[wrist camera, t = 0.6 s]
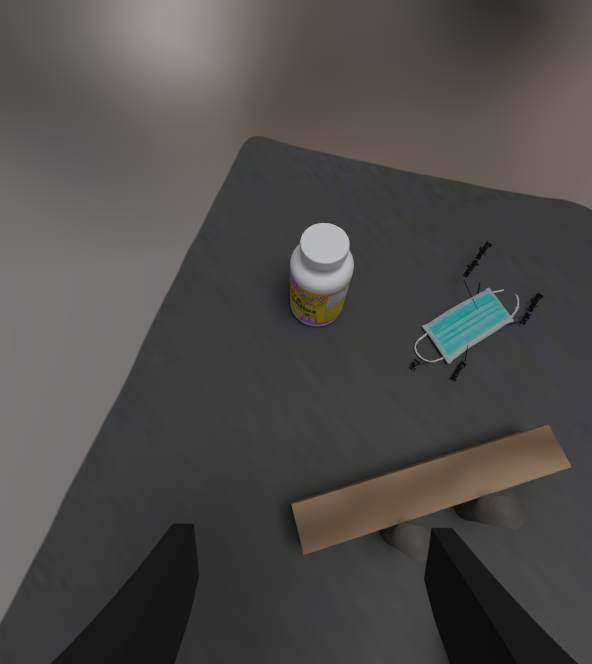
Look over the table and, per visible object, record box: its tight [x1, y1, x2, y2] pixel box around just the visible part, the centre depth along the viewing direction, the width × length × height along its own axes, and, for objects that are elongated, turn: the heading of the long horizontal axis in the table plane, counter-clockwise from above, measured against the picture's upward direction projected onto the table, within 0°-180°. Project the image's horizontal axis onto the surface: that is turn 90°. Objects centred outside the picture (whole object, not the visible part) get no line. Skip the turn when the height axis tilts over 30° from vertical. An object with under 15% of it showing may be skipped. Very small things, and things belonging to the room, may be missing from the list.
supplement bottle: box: [290, 223, 354, 327], centre depth 39 cm, size 7×7×13 cm
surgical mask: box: [409, 242, 543, 381], centre depth 42 cm, size 21×4×10 cm
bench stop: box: [291, 425, 571, 561], centre depth 33 cm, size 6×26×8 cm, turn 106°
